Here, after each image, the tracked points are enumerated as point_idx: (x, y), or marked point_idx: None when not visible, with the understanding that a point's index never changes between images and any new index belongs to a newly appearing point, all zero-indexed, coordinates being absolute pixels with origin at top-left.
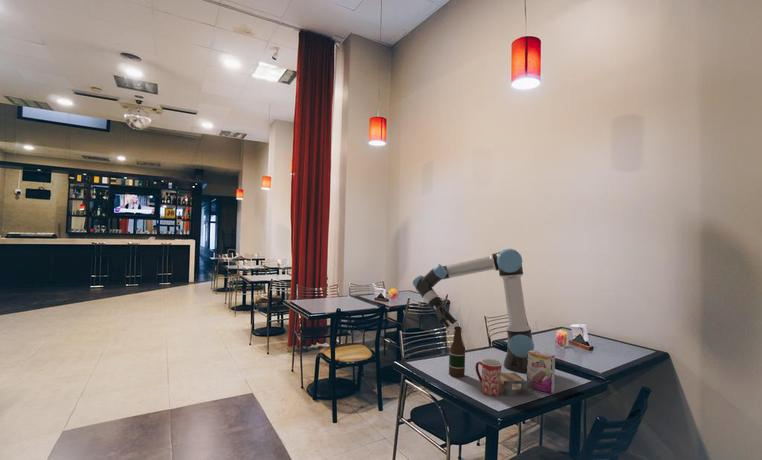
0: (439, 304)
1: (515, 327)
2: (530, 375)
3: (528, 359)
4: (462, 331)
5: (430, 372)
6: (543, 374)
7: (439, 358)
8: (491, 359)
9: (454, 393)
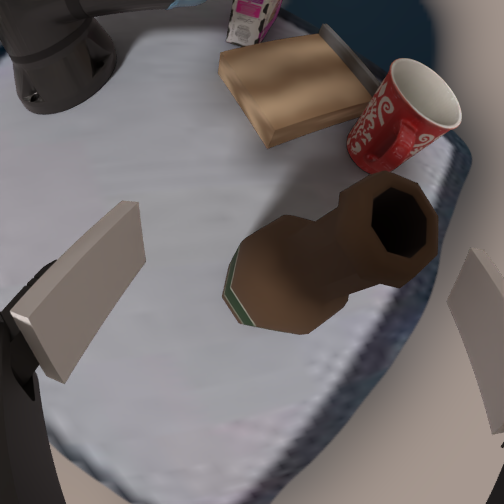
0: None
1: None
2: (268, 17)
3: None
4: (135, 212)
5: (285, 412)
6: None
7: (56, 408)
8: (395, 82)
9: (434, 263)
